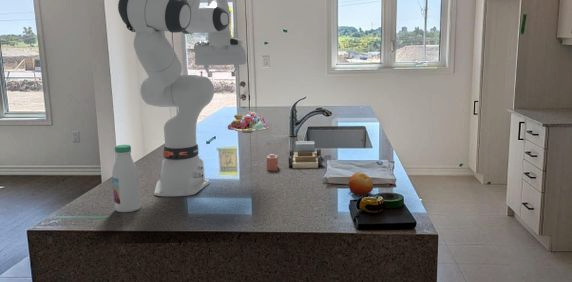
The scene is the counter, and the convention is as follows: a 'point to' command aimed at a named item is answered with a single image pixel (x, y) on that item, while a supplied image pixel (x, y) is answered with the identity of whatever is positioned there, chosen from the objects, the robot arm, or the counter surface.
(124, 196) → the milk bottle
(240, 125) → the candy plate
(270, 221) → the counter surface
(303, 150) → the chassis
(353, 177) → the fruit
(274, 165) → the block
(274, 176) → the counter surface
